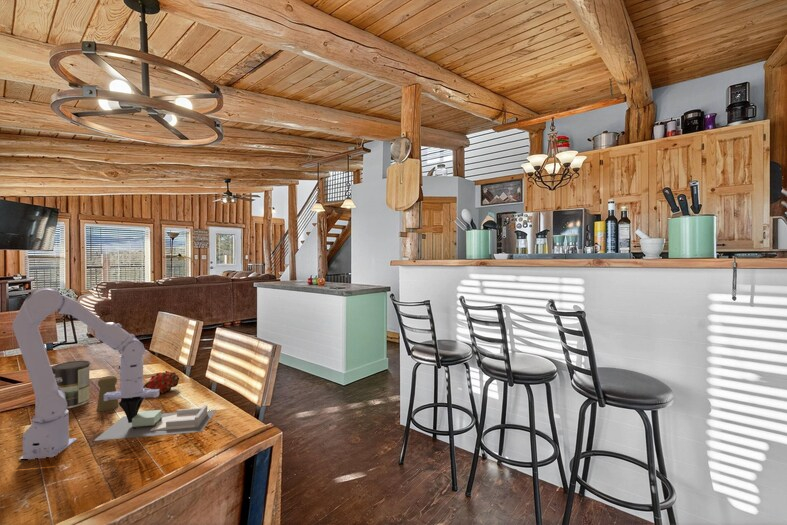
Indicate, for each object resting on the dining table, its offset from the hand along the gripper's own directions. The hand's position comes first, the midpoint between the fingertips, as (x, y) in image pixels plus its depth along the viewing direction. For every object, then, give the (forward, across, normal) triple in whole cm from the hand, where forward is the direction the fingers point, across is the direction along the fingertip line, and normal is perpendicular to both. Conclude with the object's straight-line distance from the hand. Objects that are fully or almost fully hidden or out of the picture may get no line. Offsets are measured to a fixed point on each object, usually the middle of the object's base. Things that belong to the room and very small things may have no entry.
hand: (132, 421), depth 113 cm
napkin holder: (+2, +31, -68) cm, 75 cm away
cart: (+1, -4, 0) cm, 4 cm away
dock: (+2, -8, 0) cm, 8 cm away
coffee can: (+2, +30, -24) cm, 39 cm away
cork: (+2, +15, -17) cm, 23 cm away
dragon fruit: (+2, +3, -30) cm, 30 cm away
